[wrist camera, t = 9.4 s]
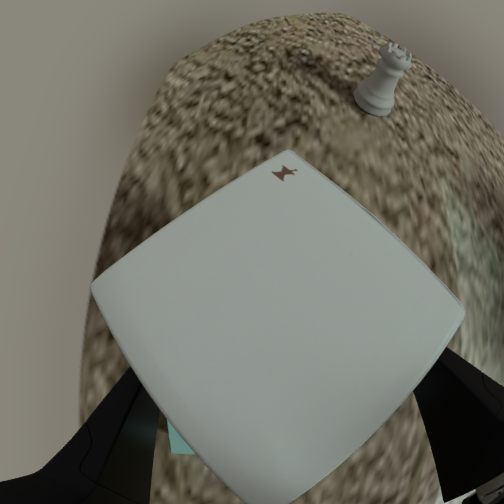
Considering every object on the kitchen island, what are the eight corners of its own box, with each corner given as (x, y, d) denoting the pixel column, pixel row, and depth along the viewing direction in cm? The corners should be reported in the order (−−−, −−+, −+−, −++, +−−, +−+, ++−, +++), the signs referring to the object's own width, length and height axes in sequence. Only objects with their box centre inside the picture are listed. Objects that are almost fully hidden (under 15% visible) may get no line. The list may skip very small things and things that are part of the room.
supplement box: (190, 352, 17) (78, 276, 6) (276, 286, 19) (290, 138, 8) (261, 438, 15) (258, 528, 3) (349, 363, 17) (476, 304, 5)
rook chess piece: (396, 113, 25) (429, 64, 17) (372, 123, 24) (405, 67, 16) (370, 86, 25) (395, 35, 18) (343, 94, 25) (367, 36, 17)
